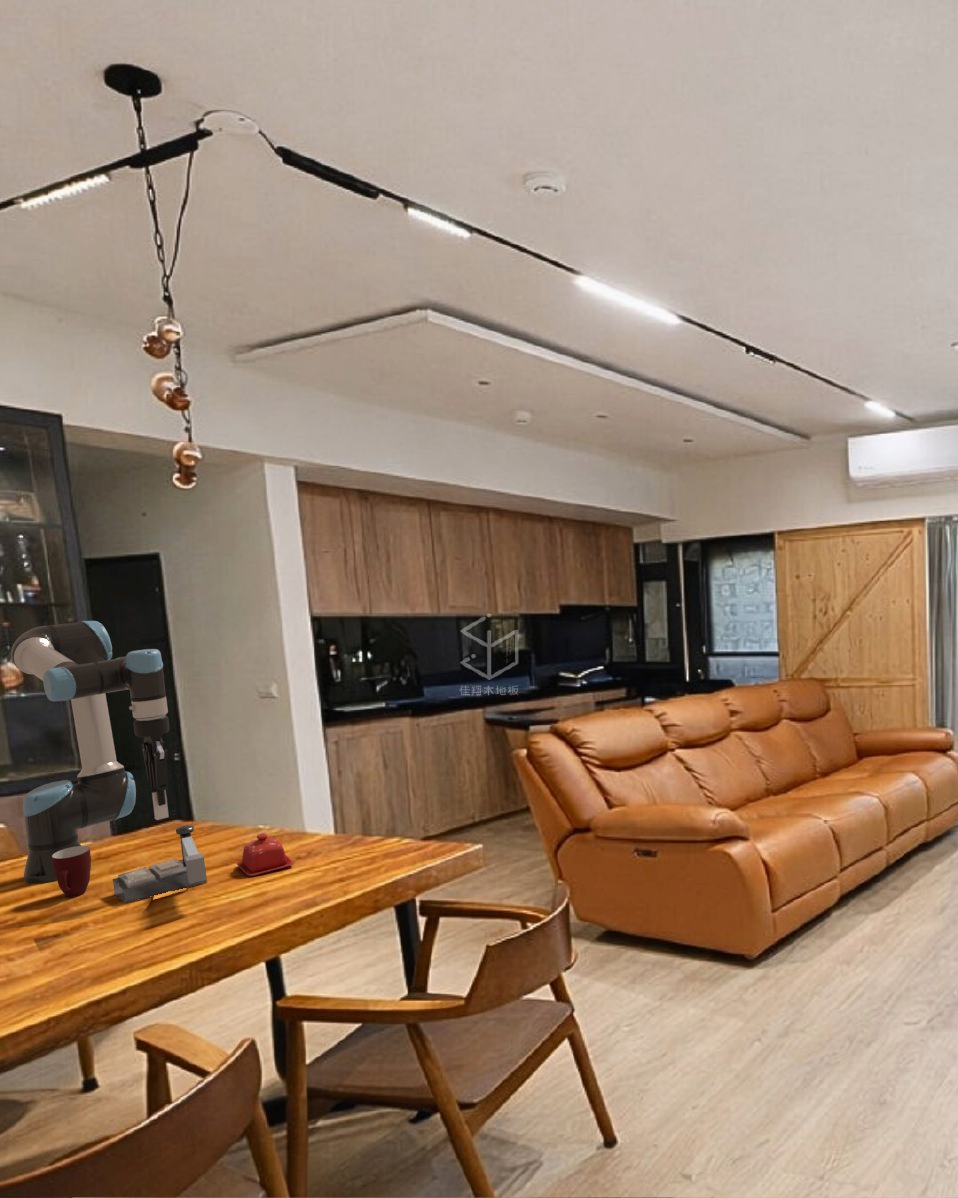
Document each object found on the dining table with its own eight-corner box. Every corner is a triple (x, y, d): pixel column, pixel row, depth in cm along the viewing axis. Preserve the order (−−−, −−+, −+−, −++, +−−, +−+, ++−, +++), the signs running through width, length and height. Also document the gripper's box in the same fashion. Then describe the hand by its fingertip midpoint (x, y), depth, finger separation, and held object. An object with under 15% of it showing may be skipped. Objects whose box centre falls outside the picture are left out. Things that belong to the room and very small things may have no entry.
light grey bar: (180, 860, 199) (178, 839, 199) (196, 856, 200) (194, 835, 200) (189, 883, 184) (186, 861, 183) (206, 879, 185) (204, 857, 185)
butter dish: (296, 868, 205) (292, 833, 204) (248, 881, 199) (245, 846, 198) (280, 855, 215) (277, 822, 214) (235, 868, 209) (231, 834, 208)
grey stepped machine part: (114, 896, 196) (108, 843, 195) (193, 873, 207) (187, 822, 206) (126, 909, 188) (119, 853, 187) (207, 884, 199) (201, 831, 198)
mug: (88, 902, 194) (82, 858, 194) (49, 908, 193) (44, 864, 192) (98, 884, 205) (93, 843, 204) (61, 890, 203) (56, 849, 202)
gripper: (126, 717, 200) (137, 816, 201) (141, 723, 189) (153, 828, 191) (159, 711, 204) (169, 808, 206) (175, 717, 193) (187, 819, 195)
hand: (161, 817), depth 198 cm, fingers closed
